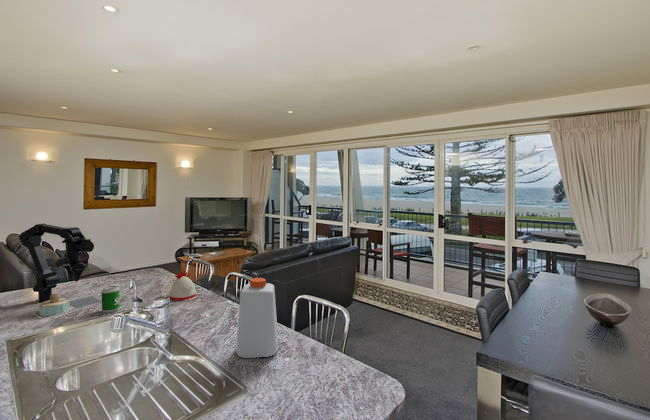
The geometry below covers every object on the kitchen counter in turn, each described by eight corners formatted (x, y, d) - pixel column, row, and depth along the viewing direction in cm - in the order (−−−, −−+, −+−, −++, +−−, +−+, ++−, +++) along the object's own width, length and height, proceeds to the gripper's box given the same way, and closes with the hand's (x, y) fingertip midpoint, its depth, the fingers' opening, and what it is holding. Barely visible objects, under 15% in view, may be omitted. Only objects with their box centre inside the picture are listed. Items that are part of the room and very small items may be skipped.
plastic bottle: (241, 340, 136) (241, 274, 134) (278, 340, 137) (279, 274, 135) (234, 360, 121) (234, 285, 119) (275, 359, 122) (276, 285, 120)
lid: (37, 304, 161) (37, 295, 161) (63, 298, 170) (62, 290, 170) (45, 308, 155) (44, 299, 155) (71, 302, 164) (70, 294, 164)
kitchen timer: (165, 296, 188) (165, 271, 187) (188, 291, 199) (188, 266, 198) (176, 302, 179) (176, 275, 178) (200, 296, 190) (200, 270, 189)
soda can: (111, 314, 161) (110, 290, 161) (98, 312, 163) (97, 289, 162) (123, 308, 169) (122, 286, 168) (111, 307, 170) (110, 284, 169)
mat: (65, 303, 176) (65, 302, 176) (91, 297, 186) (91, 296, 186) (76, 308, 168) (76, 308, 168) (102, 302, 178) (102, 301, 178)
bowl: (36, 313, 161) (35, 304, 161) (64, 306, 171) (64, 298, 170) (44, 318, 155) (43, 309, 155) (73, 311, 164) (72, 302, 164)
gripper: (48, 251, 174) (49, 279, 175) (59, 256, 163) (60, 286, 164) (73, 248, 183) (74, 275, 184) (85, 252, 172) (86, 281, 173)
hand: (73, 279), depth 176 cm, fingers open, 9 cm apart
